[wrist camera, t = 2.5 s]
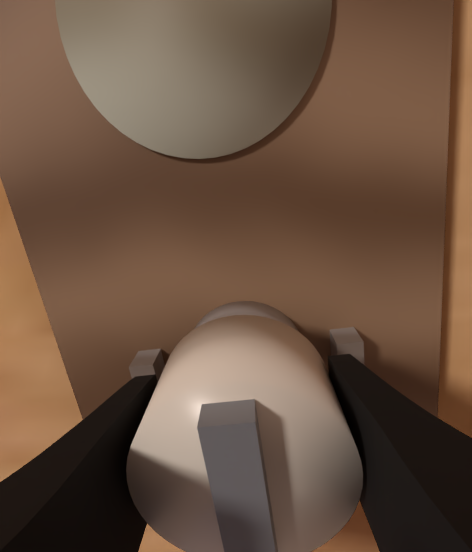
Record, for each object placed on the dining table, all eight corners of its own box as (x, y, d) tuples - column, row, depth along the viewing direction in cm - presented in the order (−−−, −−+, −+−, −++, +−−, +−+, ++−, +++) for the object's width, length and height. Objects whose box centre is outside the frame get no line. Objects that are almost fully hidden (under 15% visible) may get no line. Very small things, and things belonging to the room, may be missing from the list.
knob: (334, 450, 10) (376, 591, 7) (180, 462, 11) (146, 603, 7) (323, 304, 9) (370, 390, 5) (146, 325, 9) (84, 418, 6)
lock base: (423, 402, 13) (472, 467, 10) (104, 431, 14) (67, 498, 11) (437, -188, 8) (540, -385, 5) (-59, -75, 9) (-199, -186, 6)
